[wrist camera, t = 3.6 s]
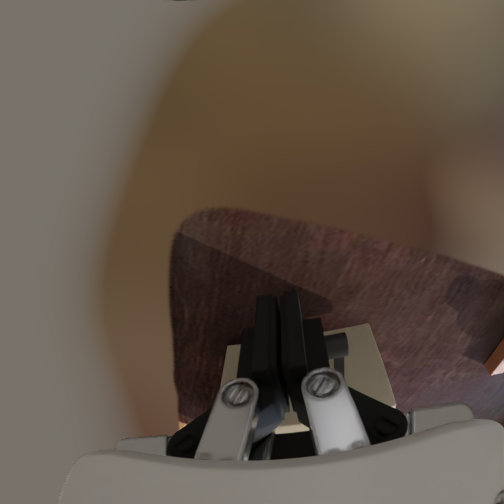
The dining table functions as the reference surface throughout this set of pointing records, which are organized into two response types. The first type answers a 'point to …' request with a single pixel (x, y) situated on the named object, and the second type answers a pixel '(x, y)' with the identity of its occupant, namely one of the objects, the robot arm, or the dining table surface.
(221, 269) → the dining table surface
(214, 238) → the dining table surface
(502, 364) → the control block
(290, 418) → the fryer drawer
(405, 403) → the dining table surface
